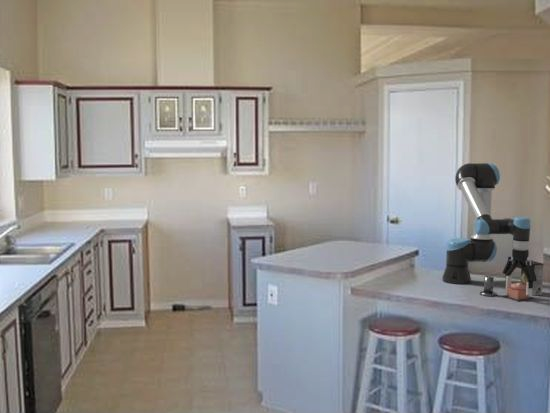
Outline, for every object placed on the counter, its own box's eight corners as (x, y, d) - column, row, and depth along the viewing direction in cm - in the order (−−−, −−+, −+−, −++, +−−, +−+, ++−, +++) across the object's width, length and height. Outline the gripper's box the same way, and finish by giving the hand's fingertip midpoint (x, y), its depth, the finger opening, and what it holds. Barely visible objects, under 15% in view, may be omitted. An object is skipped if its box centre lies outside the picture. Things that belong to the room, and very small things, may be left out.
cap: (507, 295, 318) (507, 282, 317) (518, 294, 321) (519, 281, 320) (517, 299, 311) (518, 285, 311) (529, 298, 314) (529, 284, 313)
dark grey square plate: (502, 296, 319) (503, 295, 319) (518, 295, 323) (518, 293, 323) (517, 301, 310) (517, 300, 310) (533, 299, 313) (533, 298, 313)
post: (476, 293, 325) (477, 276, 324) (489, 292, 328) (489, 274, 327) (487, 297, 318) (488, 279, 317) (500, 295, 321) (500, 278, 320)
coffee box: (519, 291, 330) (521, 260, 328) (529, 290, 332) (531, 259, 331) (532, 295, 322) (533, 264, 320) (542, 294, 324) (544, 263, 322)
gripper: (496, 245, 324) (494, 286, 326) (534, 253, 301) (531, 298, 303) (508, 244, 326) (506, 285, 329) (546, 252, 304) (543, 296, 306)
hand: (518, 291), depth 316 cm, fingers open, 13 cm apart
